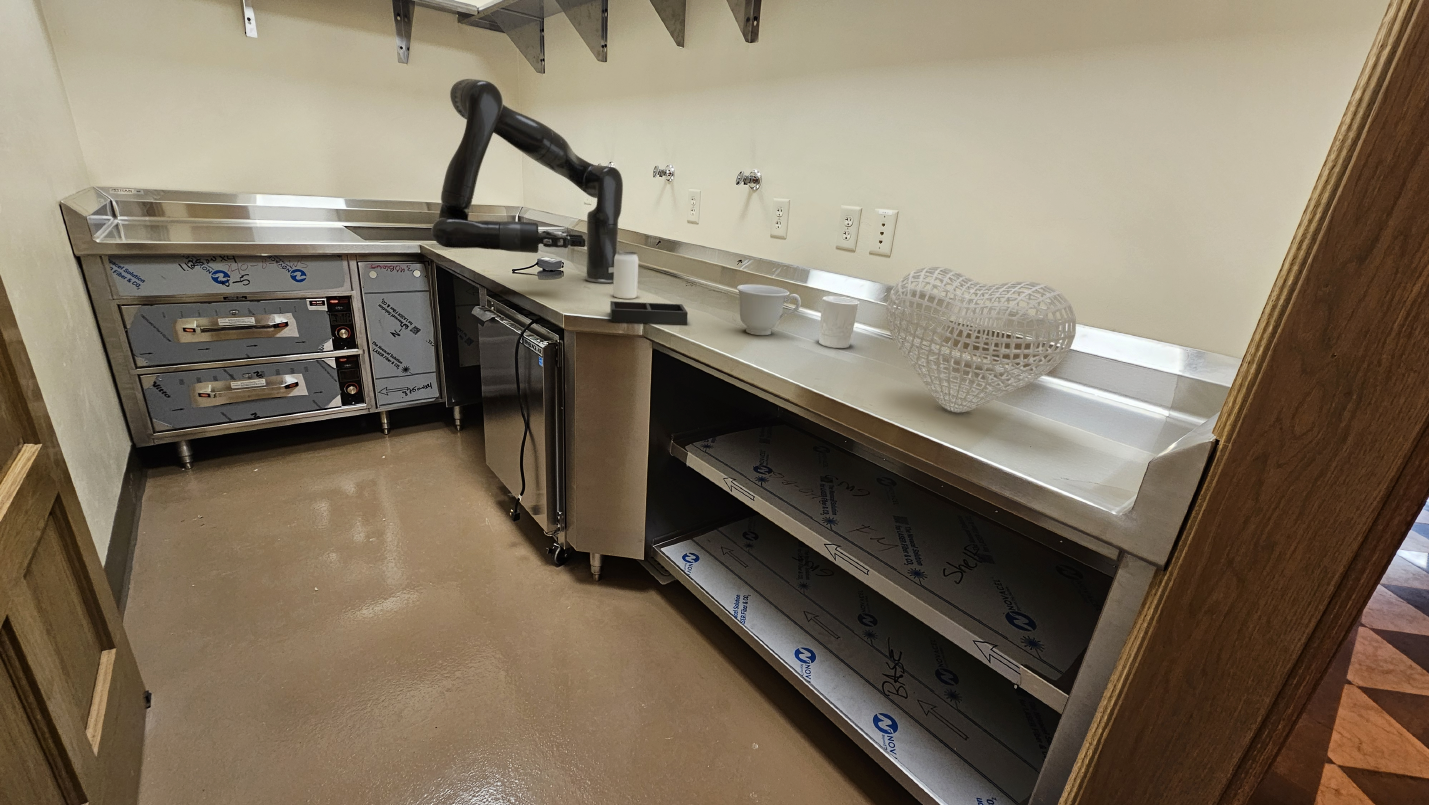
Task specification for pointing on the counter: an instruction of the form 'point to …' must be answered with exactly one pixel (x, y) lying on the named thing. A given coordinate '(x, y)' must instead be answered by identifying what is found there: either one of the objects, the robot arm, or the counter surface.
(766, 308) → the teacup
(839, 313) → the white cup
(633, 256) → the can
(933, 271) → the heart
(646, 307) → the tray
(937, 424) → the counter surface
